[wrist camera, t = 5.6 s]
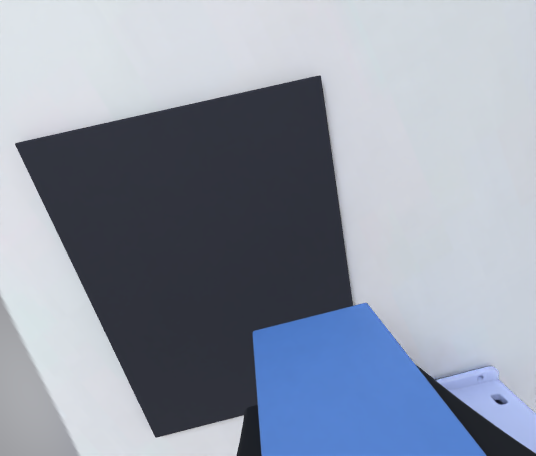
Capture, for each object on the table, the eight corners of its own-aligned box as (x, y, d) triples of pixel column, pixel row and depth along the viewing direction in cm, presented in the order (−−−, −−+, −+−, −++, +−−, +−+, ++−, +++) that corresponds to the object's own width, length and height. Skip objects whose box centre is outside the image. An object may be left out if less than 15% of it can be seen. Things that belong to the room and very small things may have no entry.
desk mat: (318, 76, 14) (320, 75, 14) (361, 379, 21) (364, 384, 20) (20, 143, 14) (13, 143, 13) (157, 432, 20) (155, 437, 20)
